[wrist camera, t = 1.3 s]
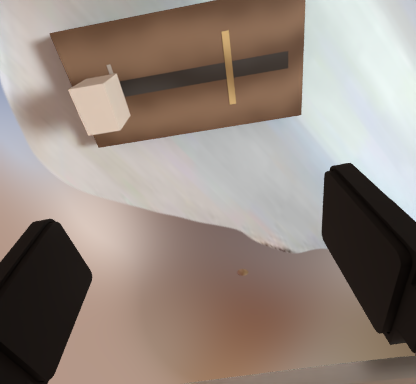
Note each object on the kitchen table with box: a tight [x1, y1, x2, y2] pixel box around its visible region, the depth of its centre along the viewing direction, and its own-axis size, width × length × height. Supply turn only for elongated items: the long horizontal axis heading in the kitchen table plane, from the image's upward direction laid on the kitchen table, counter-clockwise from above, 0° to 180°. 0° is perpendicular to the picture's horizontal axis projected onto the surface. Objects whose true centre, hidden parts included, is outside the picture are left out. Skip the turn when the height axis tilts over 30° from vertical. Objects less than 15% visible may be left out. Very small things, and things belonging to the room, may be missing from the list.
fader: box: [68, 73, 131, 136], centre depth 25 cm, size 4×3×7 cm
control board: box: [49, 0, 305, 148], centre depth 29 cm, size 12×24×3 cm, turn 99°
